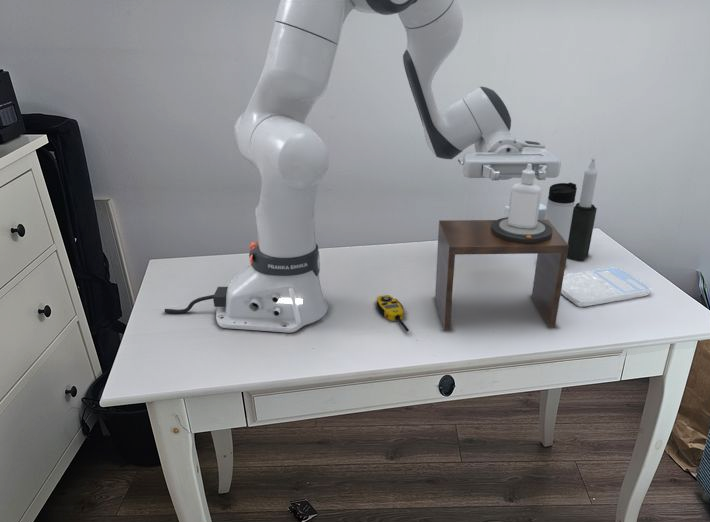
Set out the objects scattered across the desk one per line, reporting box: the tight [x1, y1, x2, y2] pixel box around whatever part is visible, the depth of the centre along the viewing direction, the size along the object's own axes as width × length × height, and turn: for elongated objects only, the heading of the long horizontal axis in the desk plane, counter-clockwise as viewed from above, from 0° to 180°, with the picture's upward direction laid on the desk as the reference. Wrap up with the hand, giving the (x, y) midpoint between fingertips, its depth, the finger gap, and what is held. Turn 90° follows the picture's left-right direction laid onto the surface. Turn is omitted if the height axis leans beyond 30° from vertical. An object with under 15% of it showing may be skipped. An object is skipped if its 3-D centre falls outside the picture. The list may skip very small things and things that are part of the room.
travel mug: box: [545, 181, 578, 244], centre depth 148 cm, size 6×7×20 cm
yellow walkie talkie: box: [376, 294, 410, 333], centre depth 128 cm, size 5×2×15 cm
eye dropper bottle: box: [508, 164, 542, 229], centre depth 118 cm, size 4×6×12 cm
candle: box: [567, 157, 598, 262], centre depth 152 cm, size 5×5×25 cm
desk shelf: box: [434, 219, 569, 332], centre depth 127 cm, size 23×14×18 cm, turn 96°
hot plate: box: [491, 217, 553, 244], centre depth 122 cm, size 12×12×1 cm
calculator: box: [561, 266, 652, 308], centre depth 142 cm, size 13×20×2 cm, turn 112°
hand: (519, 176), depth 123 cm, fingers open, 8 cm apart
